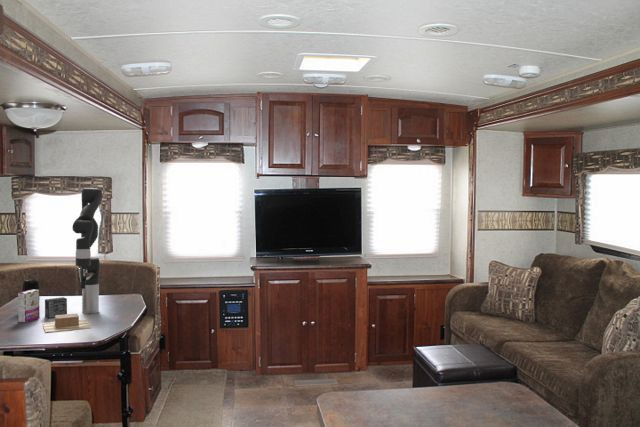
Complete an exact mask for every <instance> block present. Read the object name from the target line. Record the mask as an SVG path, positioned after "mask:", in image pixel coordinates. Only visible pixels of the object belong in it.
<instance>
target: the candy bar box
mask: <svg viewBox="0 0 640 427" xmlns="http://www.w3.org/2000/svg"><path fill="white" fill-rule="evenodd" d="M17 301H18V302H17V303H18V304H17V306H18V307H17V308H18V309H17V310H18V312H17V313H18V322H19V323H28V322H32V321H33V320H34V321H35V320H37V319H40V289H39V290H29V291H25V292H18V293H17Z"/></svg>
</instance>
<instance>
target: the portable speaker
mask: <svg viewBox="0 0 640 427" xmlns="http://www.w3.org/2000/svg"><path fill="white" fill-rule="evenodd" d="M29 290H39V291H40V283H39V278H24V279H23V284H22V292H25V291H29Z"/></svg>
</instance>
